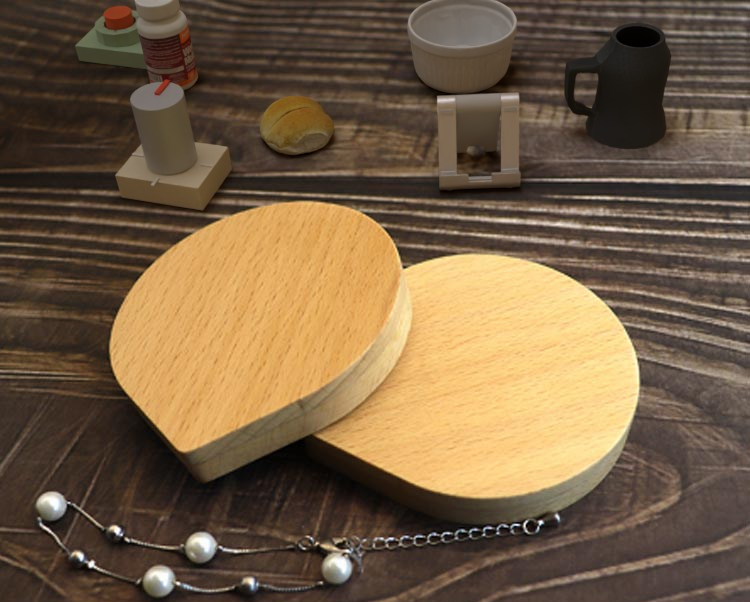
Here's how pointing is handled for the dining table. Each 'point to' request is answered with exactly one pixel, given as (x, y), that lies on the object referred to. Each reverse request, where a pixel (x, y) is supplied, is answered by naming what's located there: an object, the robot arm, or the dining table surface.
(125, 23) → the button
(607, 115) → the mug
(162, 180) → the beige square base
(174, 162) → the dial
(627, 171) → the dining table surface
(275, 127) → the bread roll
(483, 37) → the ramekin
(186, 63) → the pill bottle
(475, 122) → the tablet stand
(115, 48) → the button box
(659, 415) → the dining table surface
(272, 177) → the dining table surface
